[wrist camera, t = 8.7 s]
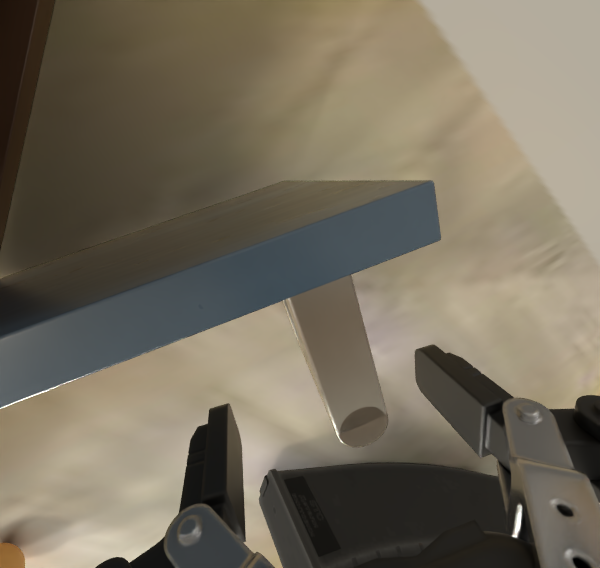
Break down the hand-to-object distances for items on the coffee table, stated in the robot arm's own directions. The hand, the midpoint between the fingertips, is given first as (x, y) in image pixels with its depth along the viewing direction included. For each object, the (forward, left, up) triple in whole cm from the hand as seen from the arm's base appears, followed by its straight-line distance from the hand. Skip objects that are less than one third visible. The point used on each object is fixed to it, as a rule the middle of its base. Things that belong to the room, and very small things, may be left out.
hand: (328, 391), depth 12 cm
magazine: (+5, -22, -9) cm, 24 cm away
